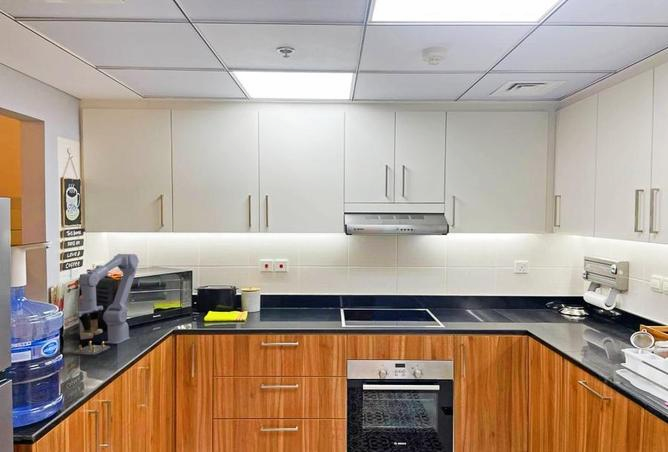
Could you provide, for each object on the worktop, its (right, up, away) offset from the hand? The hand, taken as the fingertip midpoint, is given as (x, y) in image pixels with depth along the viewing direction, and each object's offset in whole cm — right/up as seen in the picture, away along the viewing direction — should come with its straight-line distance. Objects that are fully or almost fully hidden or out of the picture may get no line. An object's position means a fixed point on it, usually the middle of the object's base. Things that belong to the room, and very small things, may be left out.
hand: (90, 328), depth 207 cm
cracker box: (-16, -10, +27) cm, 33 cm away
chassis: (0, -10, +1) cm, 10 cm away
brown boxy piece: (0, -2, 0) cm, 2 cm away
